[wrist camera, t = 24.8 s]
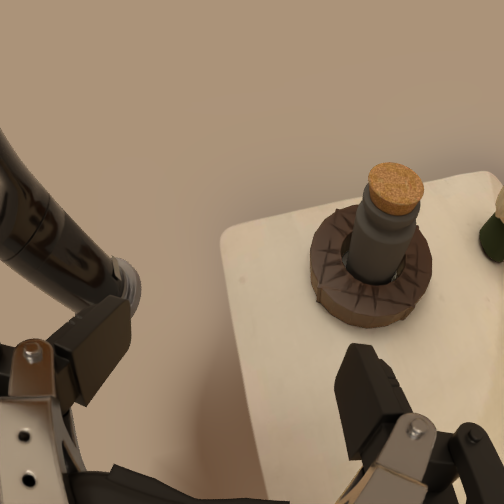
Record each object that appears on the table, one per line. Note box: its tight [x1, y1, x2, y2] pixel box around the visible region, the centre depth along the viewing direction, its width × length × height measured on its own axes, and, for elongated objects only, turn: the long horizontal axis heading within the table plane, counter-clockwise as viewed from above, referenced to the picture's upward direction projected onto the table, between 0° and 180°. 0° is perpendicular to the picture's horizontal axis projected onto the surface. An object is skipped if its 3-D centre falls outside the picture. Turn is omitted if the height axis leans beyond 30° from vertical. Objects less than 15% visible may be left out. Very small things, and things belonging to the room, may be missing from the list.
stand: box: [310, 205, 432, 328], centre depth 31 cm, size 14×14×4 cm
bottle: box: [346, 162, 424, 286], centre depth 26 cm, size 6×6×15 cm
